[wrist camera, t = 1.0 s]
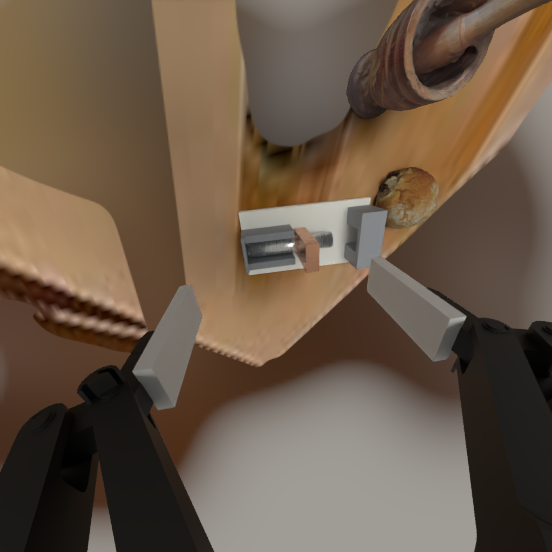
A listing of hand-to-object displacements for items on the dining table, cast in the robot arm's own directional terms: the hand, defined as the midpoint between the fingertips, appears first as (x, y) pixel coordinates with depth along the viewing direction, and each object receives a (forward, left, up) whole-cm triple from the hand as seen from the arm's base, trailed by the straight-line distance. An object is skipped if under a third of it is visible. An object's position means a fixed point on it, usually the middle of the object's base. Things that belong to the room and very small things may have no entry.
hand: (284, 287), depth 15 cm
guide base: (+5, +7, -24) cm, 26 cm away
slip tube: (+5, +4, -23) cm, 24 cm away
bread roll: (0, +25, -25) cm, 35 cm away
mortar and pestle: (-17, +19, -25) cm, 35 cm away
